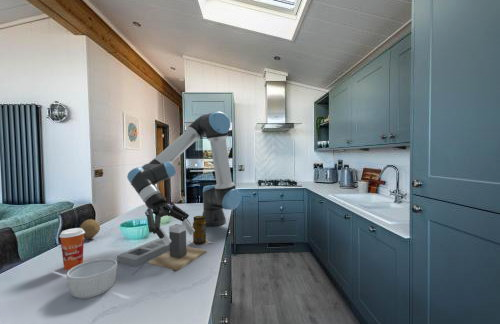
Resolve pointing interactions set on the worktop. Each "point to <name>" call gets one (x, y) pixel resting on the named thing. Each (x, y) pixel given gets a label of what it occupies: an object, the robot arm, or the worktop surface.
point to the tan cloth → (177, 259)
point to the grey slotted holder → (143, 253)
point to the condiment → (199, 231)
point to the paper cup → (72, 247)
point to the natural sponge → (90, 228)
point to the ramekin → (92, 277)
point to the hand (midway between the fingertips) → (181, 237)
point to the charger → (177, 241)
